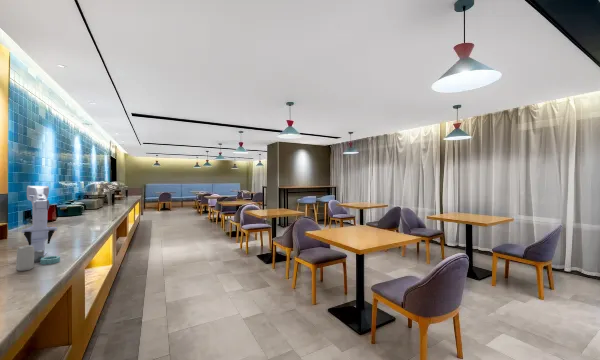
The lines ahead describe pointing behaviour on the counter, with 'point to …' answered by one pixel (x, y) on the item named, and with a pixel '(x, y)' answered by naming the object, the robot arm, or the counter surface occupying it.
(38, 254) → the steel peg
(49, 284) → the counter surface
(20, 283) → the counter surface
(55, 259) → the teal bead ring
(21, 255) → the beverage can
